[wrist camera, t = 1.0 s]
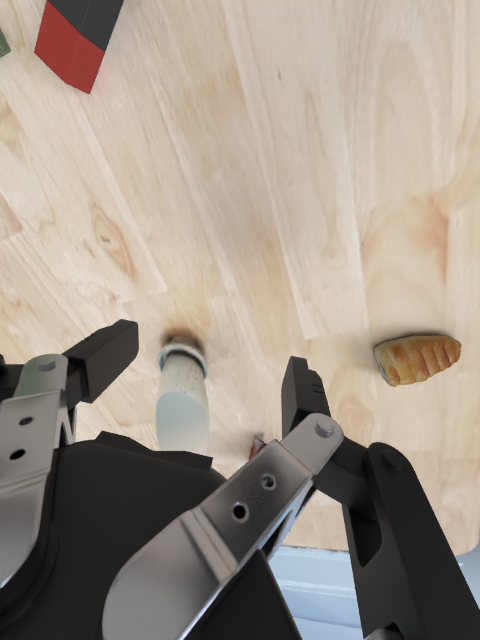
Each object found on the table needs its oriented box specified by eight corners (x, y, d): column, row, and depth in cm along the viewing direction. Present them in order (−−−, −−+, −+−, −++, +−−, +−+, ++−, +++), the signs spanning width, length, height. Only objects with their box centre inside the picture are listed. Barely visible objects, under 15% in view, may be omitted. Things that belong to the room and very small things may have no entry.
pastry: (448, 319, 29) (468, 335, 26) (458, 359, 32) (478, 379, 28) (367, 344, 33) (376, 362, 30) (382, 379, 35) (392, 399, 32)
